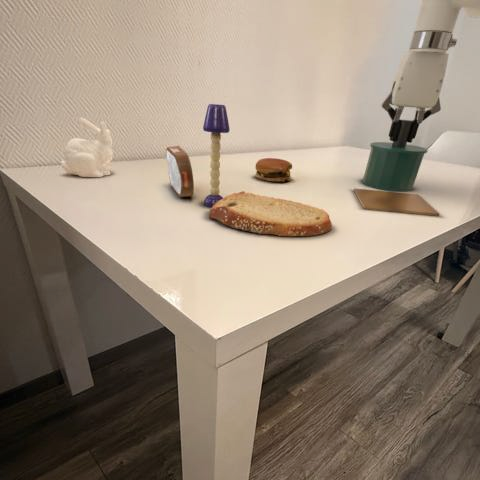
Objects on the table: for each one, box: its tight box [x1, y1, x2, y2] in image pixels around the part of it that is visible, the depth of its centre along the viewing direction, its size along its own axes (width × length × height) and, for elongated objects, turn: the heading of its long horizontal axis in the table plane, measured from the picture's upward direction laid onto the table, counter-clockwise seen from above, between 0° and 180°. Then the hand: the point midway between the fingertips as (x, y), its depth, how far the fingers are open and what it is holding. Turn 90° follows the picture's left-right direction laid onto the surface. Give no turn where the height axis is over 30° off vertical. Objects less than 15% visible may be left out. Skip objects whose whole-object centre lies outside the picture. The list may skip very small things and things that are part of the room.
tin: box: [165, 145, 195, 198], centre depth 69 cm, size 15×3×8 cm, turn 20°
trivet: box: [353, 187, 440, 217], centre depth 74 cm, size 15×15×1 cm
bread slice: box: [208, 190, 333, 237], centre depth 58 cm, size 18×18×4 cm
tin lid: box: [369, 119, 429, 155], centre depth 81 cm, size 13×13×7 cm
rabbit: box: [60, 116, 114, 178], centre depth 75 cm, size 12×9×12 cm
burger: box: [255, 157, 293, 183], centre depth 85 cm, size 10×9×5 cm
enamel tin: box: [362, 147, 425, 192], centre depth 85 cm, size 12×12×8 cm
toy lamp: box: [202, 103, 231, 208], centre depth 61 cm, size 5×5×17 cm
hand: (400, 140), depth 82 cm, fingers closed on tin lid, 3 cm apart
